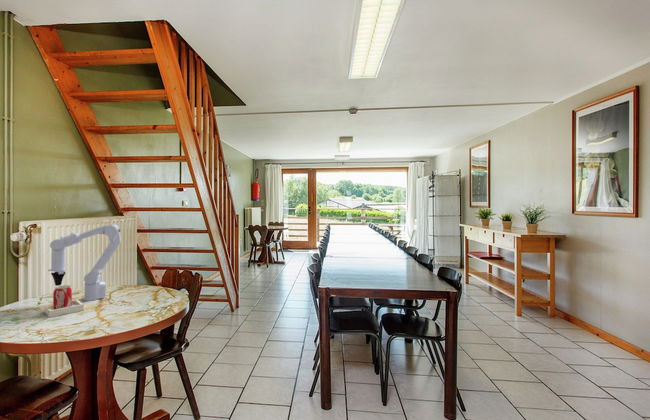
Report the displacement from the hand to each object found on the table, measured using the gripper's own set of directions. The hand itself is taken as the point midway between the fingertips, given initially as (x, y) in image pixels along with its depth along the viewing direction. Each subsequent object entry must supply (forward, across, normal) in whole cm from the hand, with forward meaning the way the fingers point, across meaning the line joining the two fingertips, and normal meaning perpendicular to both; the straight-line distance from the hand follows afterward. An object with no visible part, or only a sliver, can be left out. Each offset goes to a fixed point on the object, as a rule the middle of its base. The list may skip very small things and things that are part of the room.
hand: (58, 285), depth 163 cm
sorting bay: (+9, +20, -1) cm, 22 cm away
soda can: (+10, +18, -1) cm, 21 cm away
